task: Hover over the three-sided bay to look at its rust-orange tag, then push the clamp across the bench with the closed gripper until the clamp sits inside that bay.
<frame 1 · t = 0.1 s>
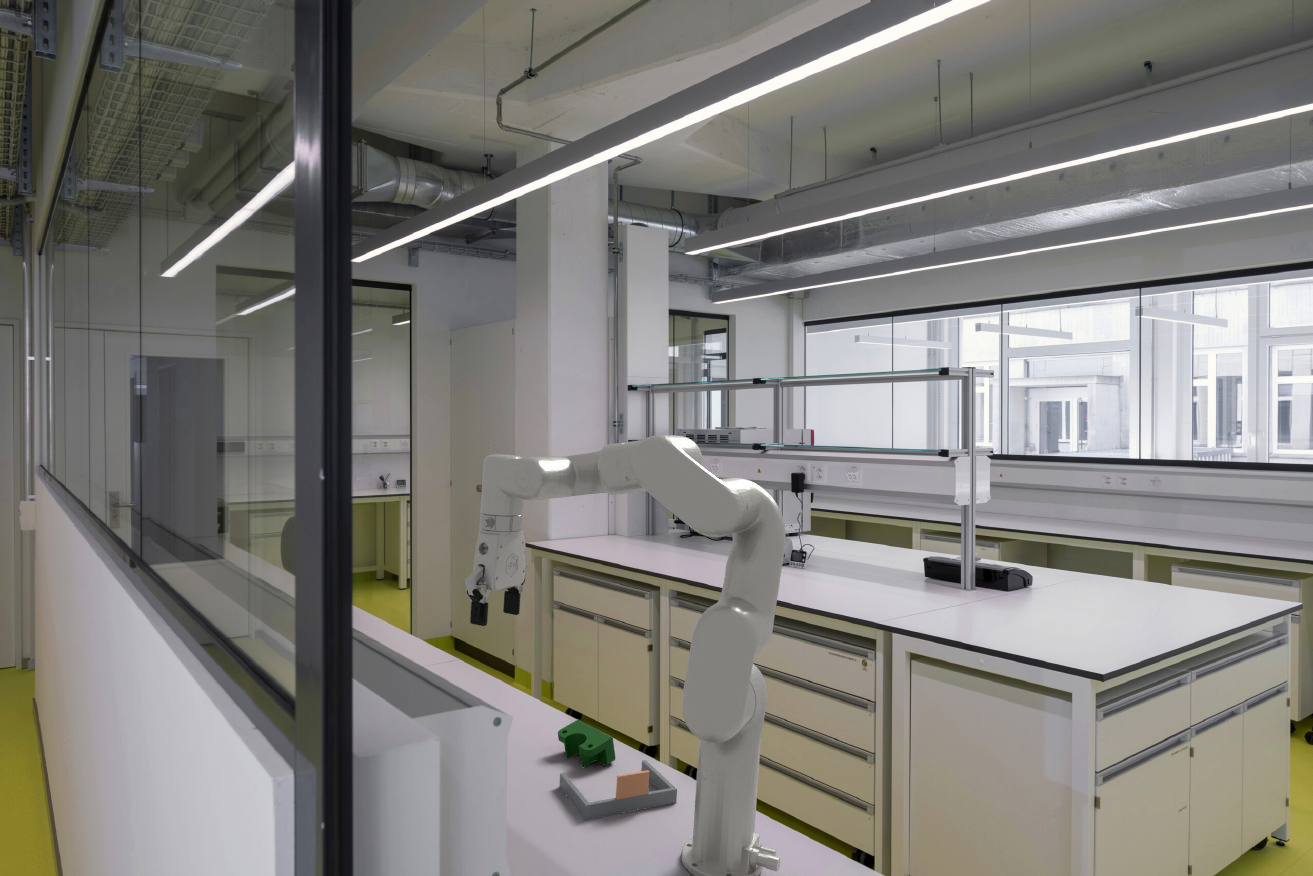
hand: (495, 619, 139), 31 cm above the table, tool pointing down, fingers open, 9 cm apart
bay: (614, 791, 143), on the table
clamp: (584, 761, 156), on the table
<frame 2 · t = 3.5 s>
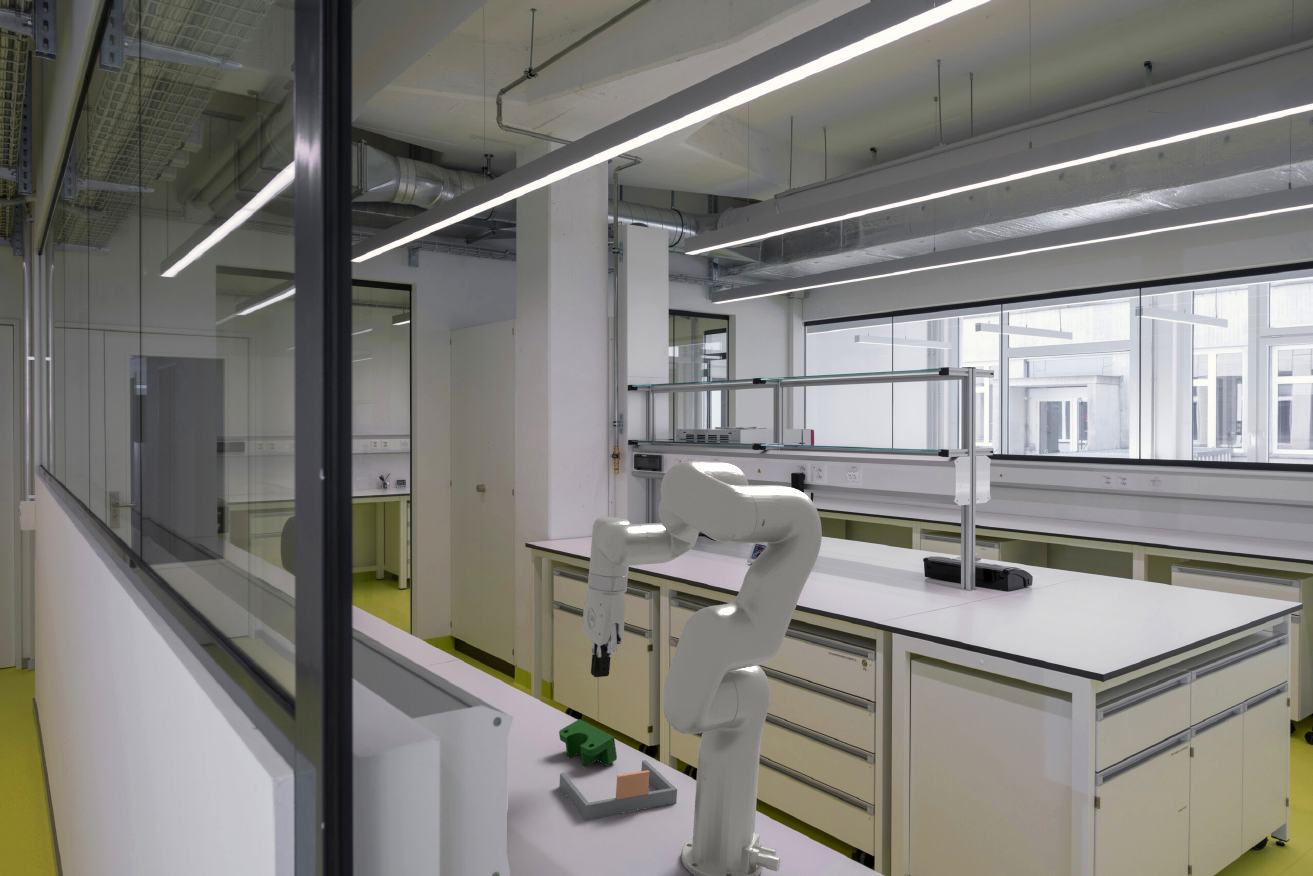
hand: (599, 675, 151), 19 cm above the table, tool pointing down, fingers closed
nothing on the table moved.
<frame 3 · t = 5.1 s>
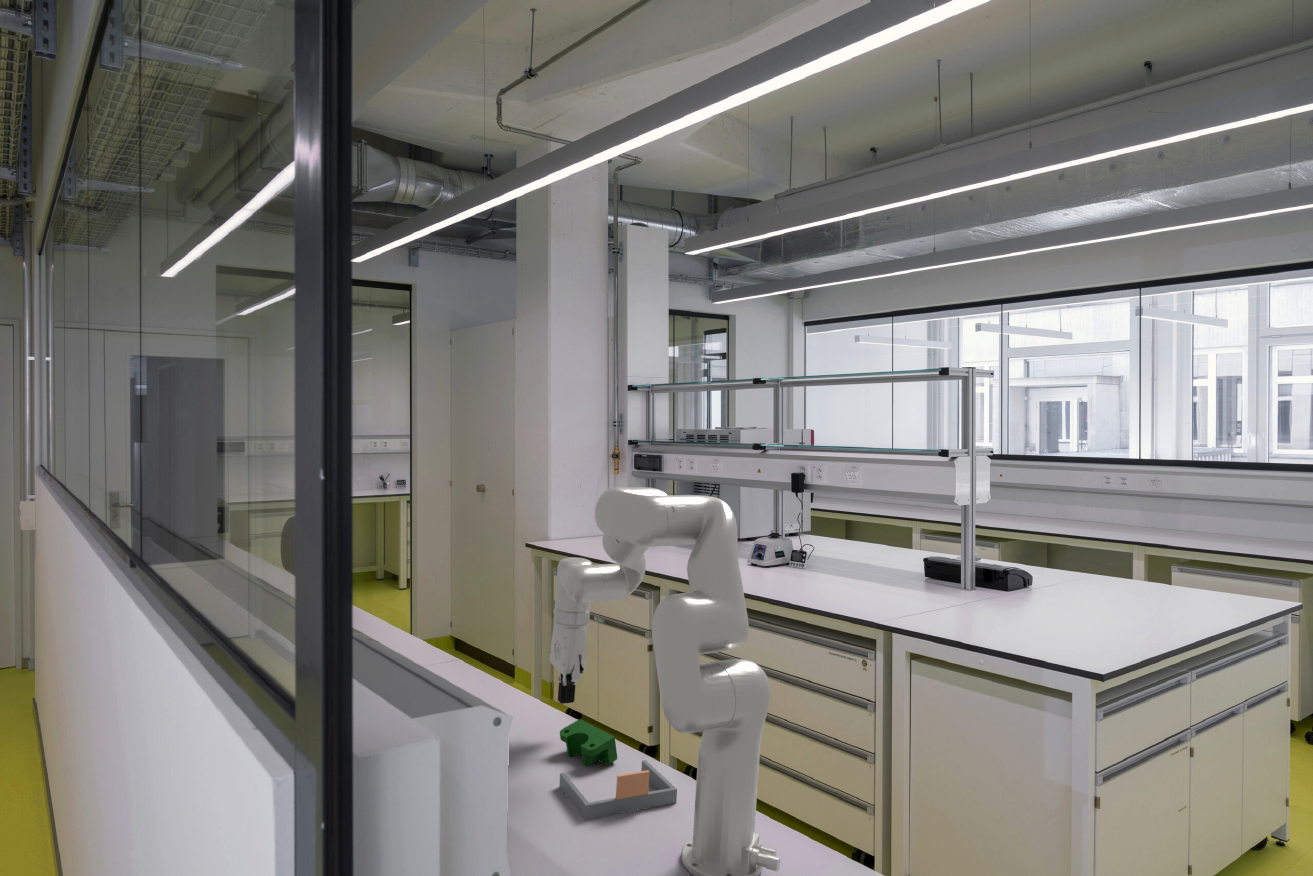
hand: (565, 701, 166), 8 cm above the table, tool pointing down, fingers closed
nothing on the table moved.
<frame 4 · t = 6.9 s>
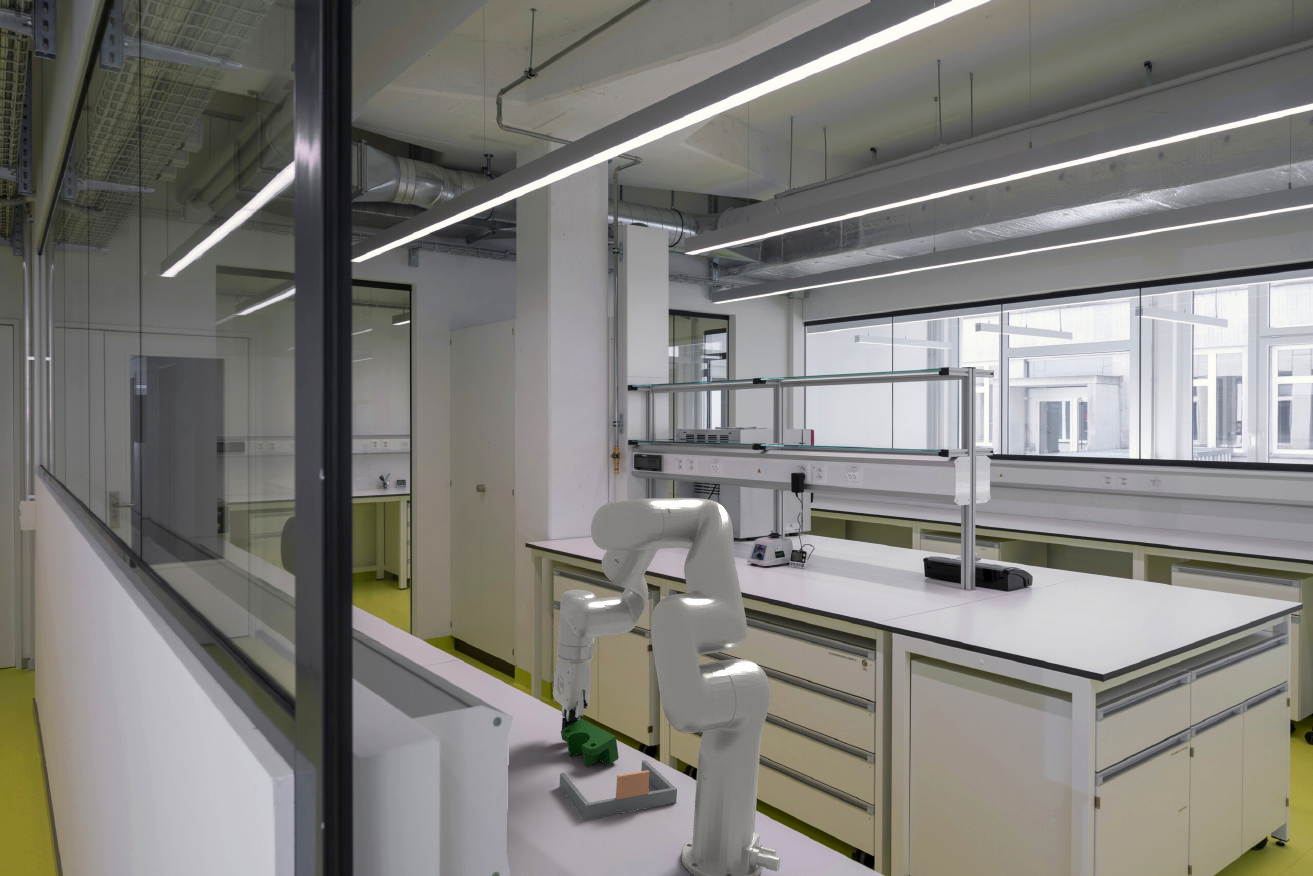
hand: (569, 737, 163), 1 cm above the table, tool pointing down, fingers closed
clamp: (587, 760, 156), on the table, touching gripper
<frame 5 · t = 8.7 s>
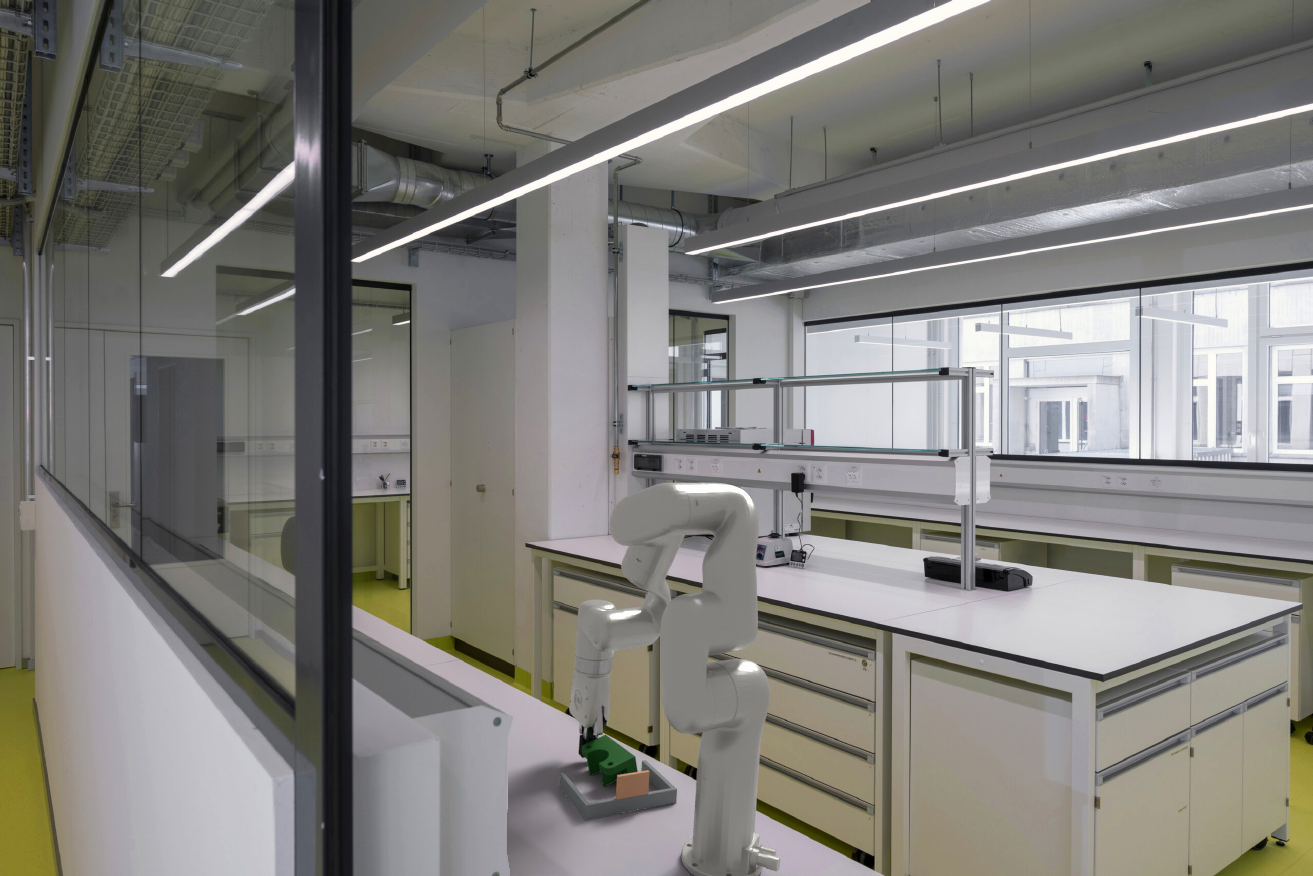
hand: (587, 755, 155), 1 cm above the table, tool pointing down, fingers closed
clamp: (607, 779, 148), on the table
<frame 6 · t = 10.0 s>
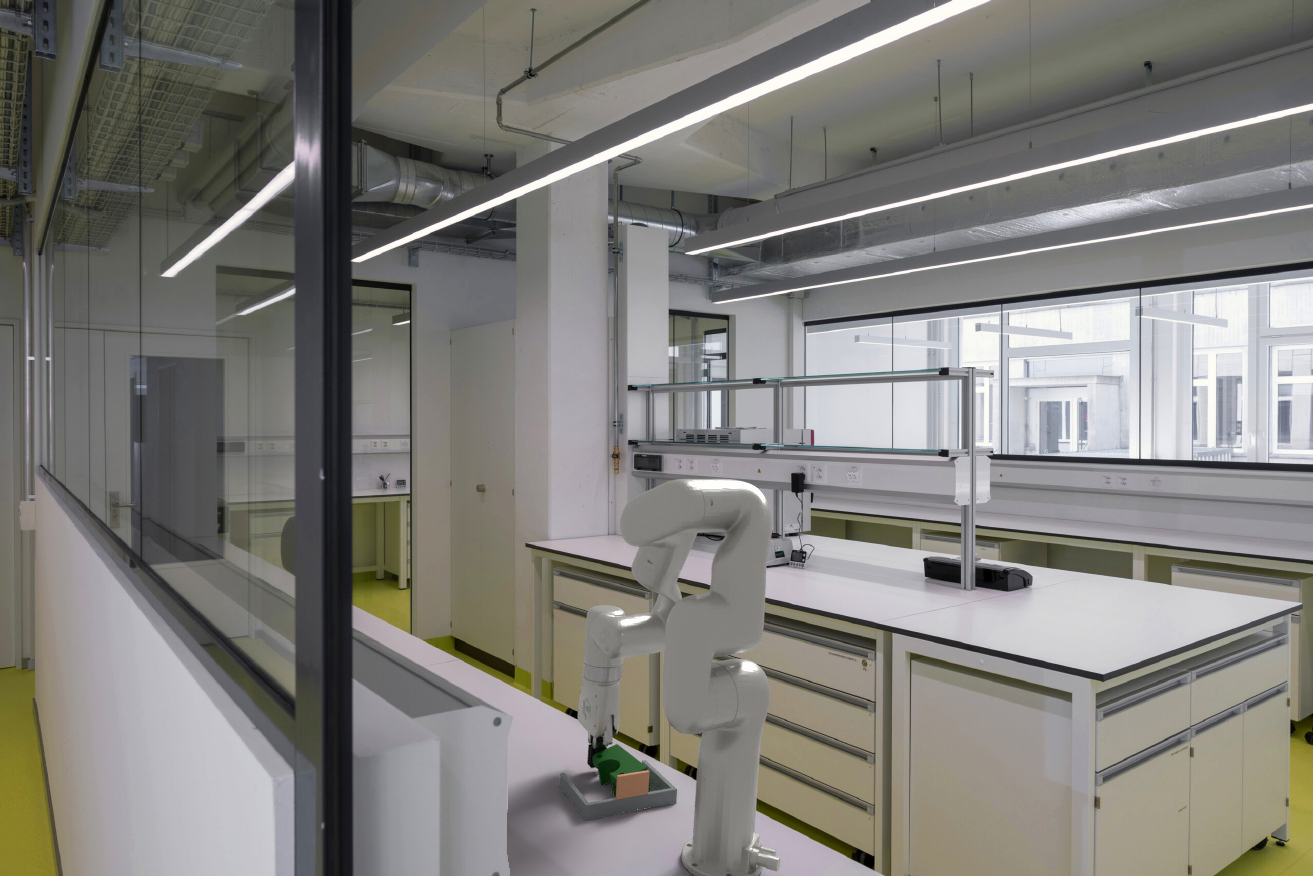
hand: (596, 765, 150), 1 cm above the table, tool pointing down, fingers closed
clamp: (619, 789, 144), on the table
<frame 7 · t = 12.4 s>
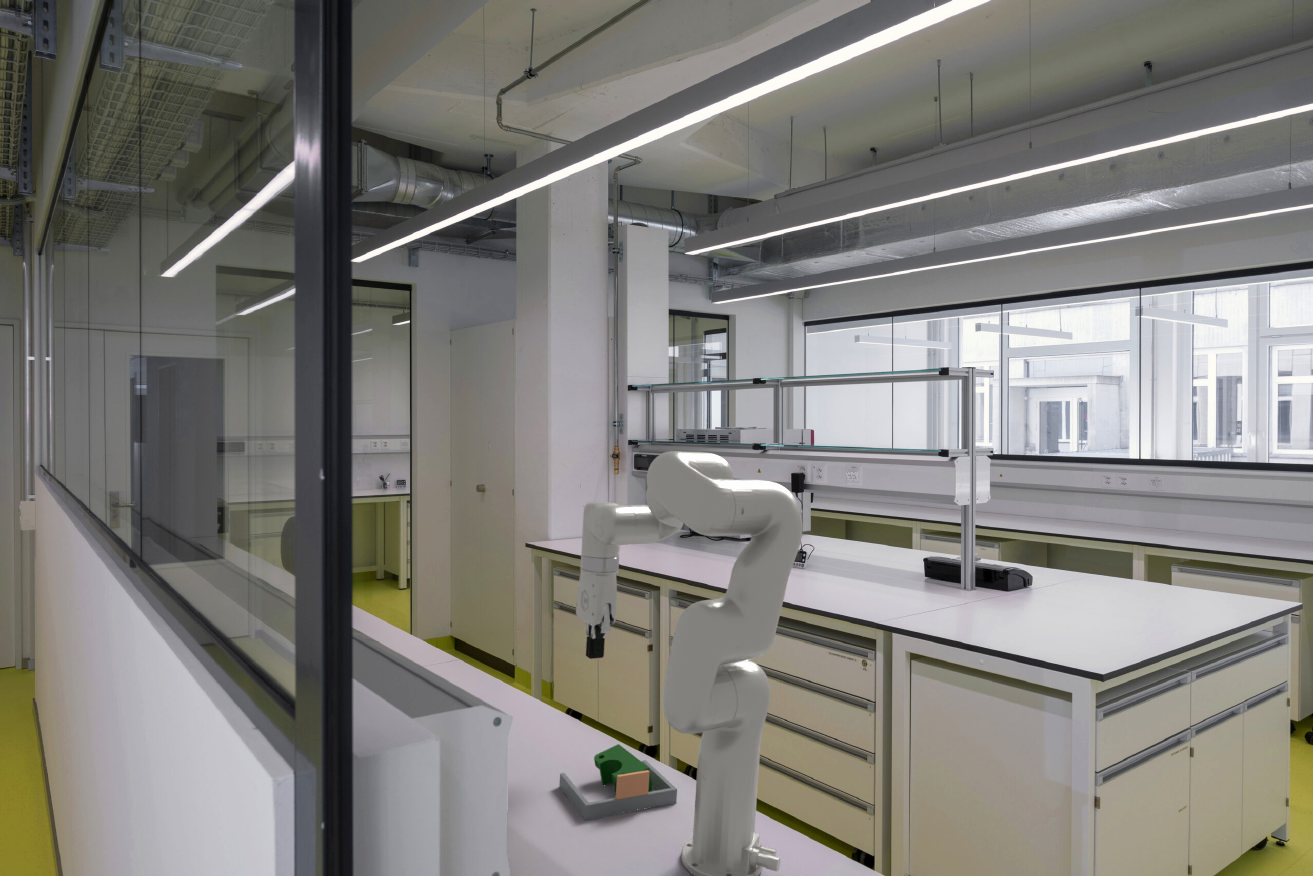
hand: (594, 656, 154), 21 cm above the table, tool pointing down, fingers closed
nothing on the table moved.
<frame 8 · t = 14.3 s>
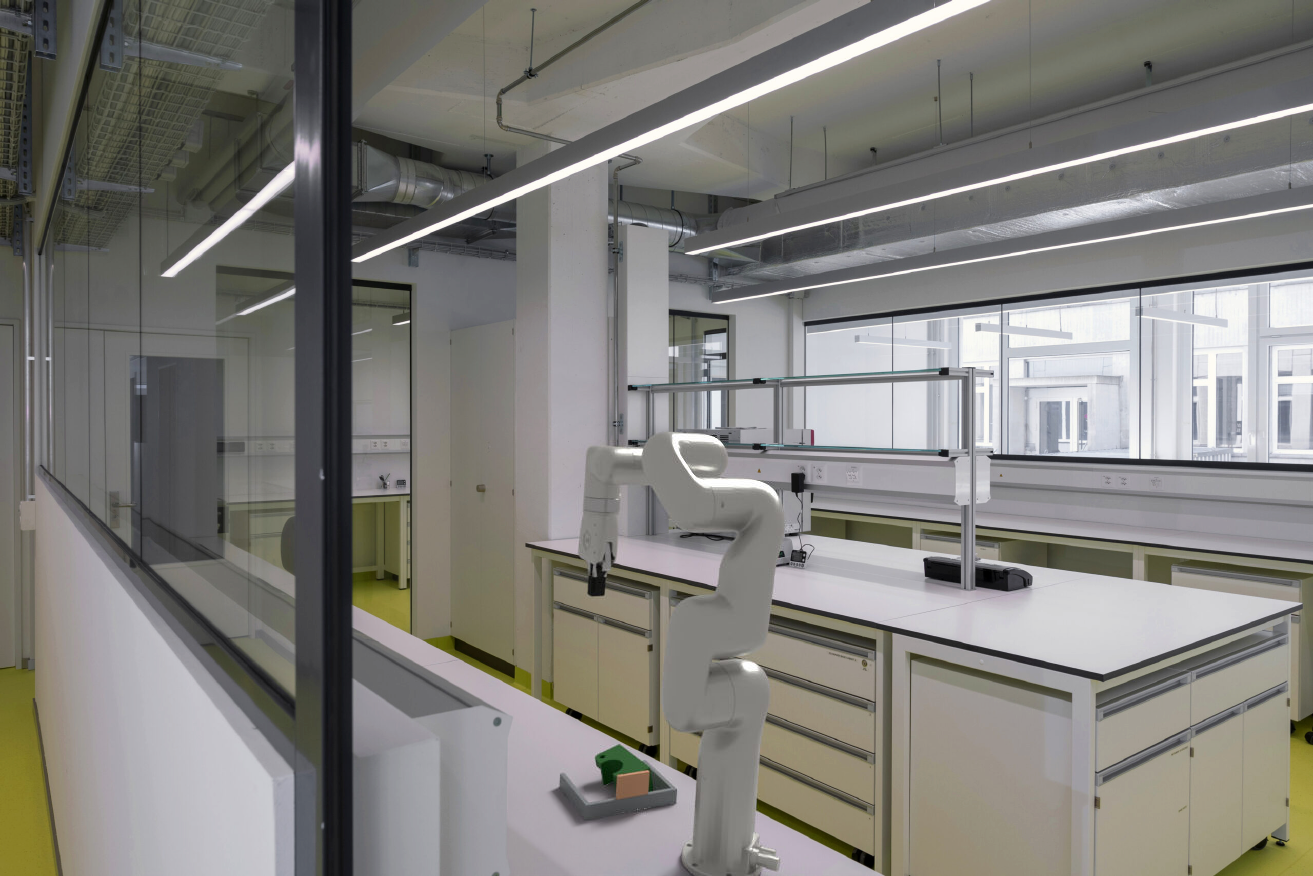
hand: (595, 595, 159), 32 cm above the table, tool pointing down, fingers closed
nothing on the table moved.
at the end: clamp inside the target area on the bay (2.0 cm from its centre), point 0.0 cm above the bay's base; clamp moved 14.0 cm from its start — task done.
